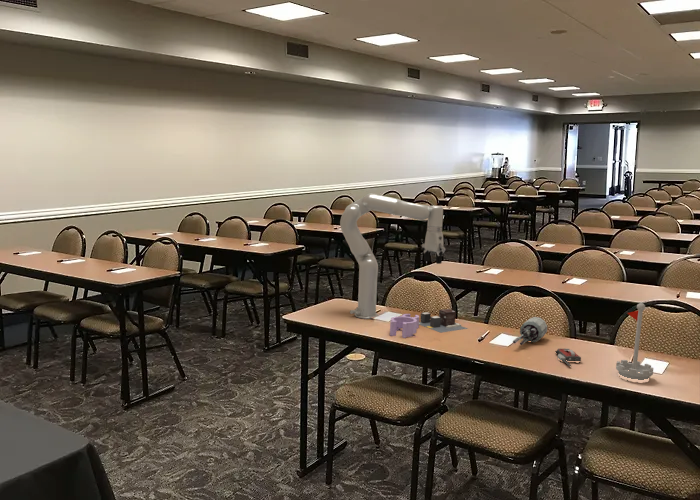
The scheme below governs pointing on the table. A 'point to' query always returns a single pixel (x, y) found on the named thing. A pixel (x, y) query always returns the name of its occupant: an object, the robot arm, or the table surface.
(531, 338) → the device
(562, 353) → the walkie-talkie
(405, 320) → the clip
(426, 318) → the block
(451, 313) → the box
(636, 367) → the flag stand
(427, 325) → the panel
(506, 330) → the table surface
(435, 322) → the breaker
